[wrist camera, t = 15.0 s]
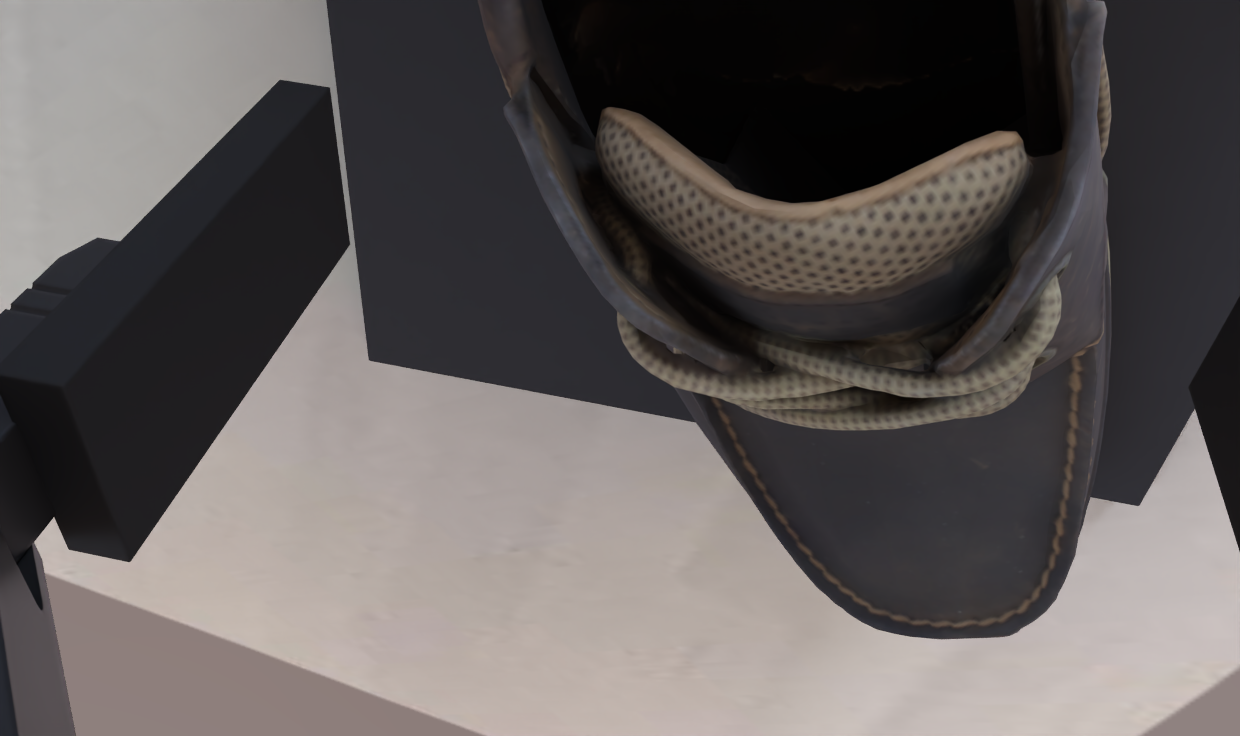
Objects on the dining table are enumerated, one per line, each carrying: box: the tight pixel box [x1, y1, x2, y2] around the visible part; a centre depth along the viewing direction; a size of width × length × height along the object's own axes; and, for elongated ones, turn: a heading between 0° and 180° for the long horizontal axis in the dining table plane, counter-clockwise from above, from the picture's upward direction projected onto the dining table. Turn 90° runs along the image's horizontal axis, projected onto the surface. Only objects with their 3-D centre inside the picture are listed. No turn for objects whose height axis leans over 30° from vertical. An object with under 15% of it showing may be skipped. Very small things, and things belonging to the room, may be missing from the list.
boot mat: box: [326, 0, 1240, 506], centre depth 22 cm, size 22×24×1 cm
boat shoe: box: [478, 0, 1111, 639], centre depth 18 cm, size 11×29×11 cm, turn 23°
